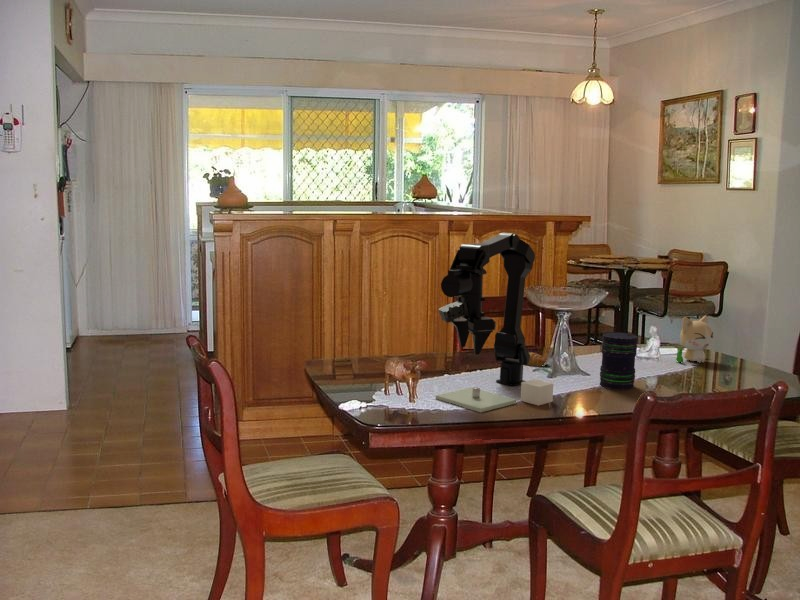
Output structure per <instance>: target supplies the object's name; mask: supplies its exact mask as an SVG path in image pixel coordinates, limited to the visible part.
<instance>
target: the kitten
mask: <svg viewBox="0 0 800 600" xmlns="http://www.w3.org/2000/svg"><path fill="white" fill-rule="evenodd" d="M679 341H680V343H681V345H682V346H683V347H684V348H685V349H686V350H685V351H684V355H683V356H682V354H683V347H681V348H679V349H678V351H677V353H676V359H675V361H676V360H677V361H678V362H683V363H684V359H685V360H686V361H689V360H690V362H694V361H697V363H698V362H699V363H698V364H700V363H705V362H706V354H705V351H704V350H706V349H708V348H710V347H711V346H712V344H713V342H714V332H713V330H712V328H711V326H710V325H709V324H708V316H707V315H706V314H705V315H704V316H703V317H701V318H700V319H699V320H692V319H690V318H689V317H687V316H684V317H683V319H682V328H681V330H680V334H679Z"/></svg>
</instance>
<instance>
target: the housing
mask: <svg viewBox="0 0 800 600" xmlns="http://www.w3.org/2000/svg"><path fill="white" fill-rule="evenodd" d="M524 381H525V382H521V384H520V401H521V402H525V403H528V404H532V405H536V406H542V405H545V404H549V403H552V402H553V401H554V400H553V396H554V383H553V382H548V381H544V380H542V379H536V378H535V379H530V380H524Z"/></svg>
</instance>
